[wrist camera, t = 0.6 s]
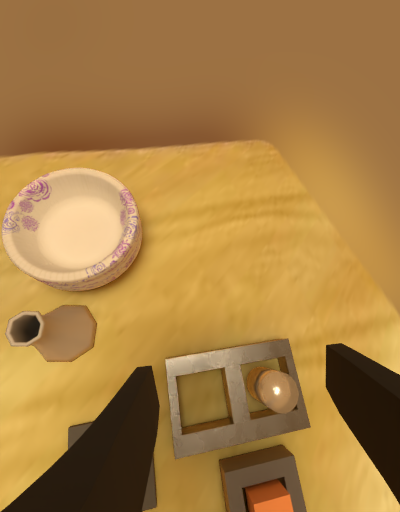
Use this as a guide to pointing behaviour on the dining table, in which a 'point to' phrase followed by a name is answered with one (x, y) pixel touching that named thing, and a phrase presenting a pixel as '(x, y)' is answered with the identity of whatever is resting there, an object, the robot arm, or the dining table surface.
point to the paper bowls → (73, 229)
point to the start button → (268, 497)
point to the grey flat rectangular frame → (233, 399)
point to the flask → (54, 332)
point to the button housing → (260, 476)
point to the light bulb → (273, 389)
